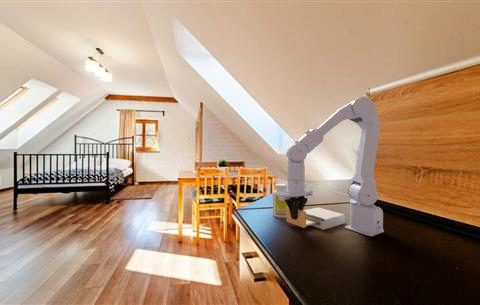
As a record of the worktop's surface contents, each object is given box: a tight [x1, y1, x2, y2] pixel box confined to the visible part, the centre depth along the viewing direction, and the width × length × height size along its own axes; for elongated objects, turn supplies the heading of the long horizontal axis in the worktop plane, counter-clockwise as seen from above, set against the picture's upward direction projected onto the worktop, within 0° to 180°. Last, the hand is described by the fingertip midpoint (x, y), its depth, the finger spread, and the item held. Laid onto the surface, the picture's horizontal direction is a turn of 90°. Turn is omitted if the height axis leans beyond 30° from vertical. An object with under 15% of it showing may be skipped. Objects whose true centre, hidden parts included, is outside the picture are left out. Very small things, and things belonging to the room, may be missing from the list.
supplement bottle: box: [272, 183, 288, 219], centre depth 96 cm, size 7×7×13 cm
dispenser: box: [303, 207, 346, 230], centre depth 88 cm, size 12×12×4 cm
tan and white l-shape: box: [286, 207, 320, 229], centre depth 85 cm, size 17×8×5 cm, turn 122°
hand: (296, 218), depth 81 cm, fingers closed on tan and white l-shape
